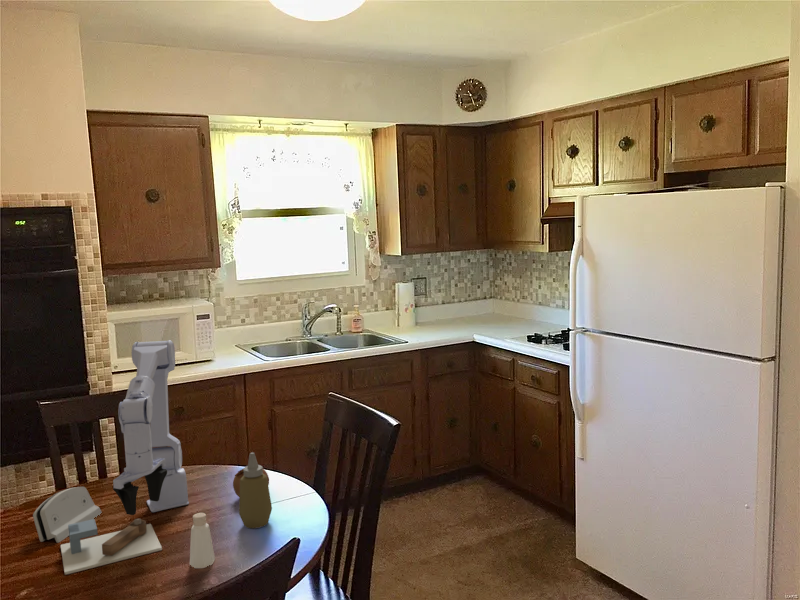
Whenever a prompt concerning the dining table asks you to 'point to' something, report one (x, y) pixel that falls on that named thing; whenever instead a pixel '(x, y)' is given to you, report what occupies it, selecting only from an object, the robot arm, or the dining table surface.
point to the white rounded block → (64, 513)
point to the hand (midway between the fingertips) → (143, 507)
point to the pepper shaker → (201, 543)
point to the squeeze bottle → (254, 495)
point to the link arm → (124, 537)
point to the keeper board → (90, 550)
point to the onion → (237, 481)
